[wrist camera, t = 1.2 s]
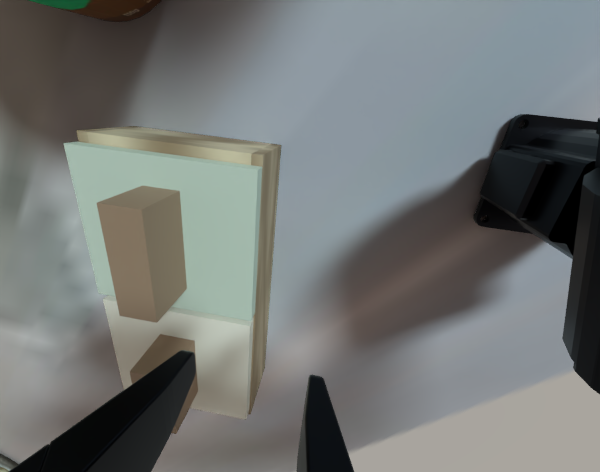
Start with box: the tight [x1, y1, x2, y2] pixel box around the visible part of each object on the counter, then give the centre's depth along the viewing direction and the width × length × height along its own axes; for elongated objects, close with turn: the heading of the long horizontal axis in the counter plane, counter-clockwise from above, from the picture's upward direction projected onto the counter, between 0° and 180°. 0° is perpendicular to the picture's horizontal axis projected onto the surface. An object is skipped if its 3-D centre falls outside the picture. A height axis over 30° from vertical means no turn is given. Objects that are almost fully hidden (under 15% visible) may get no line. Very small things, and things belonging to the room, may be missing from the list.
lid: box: [103, 295, 254, 434], centre depth 19 cm, size 10×9×4 cm
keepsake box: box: [76, 126, 281, 414], centre depth 21 cm, size 10×20×4 cm, turn 174°
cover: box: [63, 142, 262, 323], centre depth 15 cm, size 10×9×4 cm
